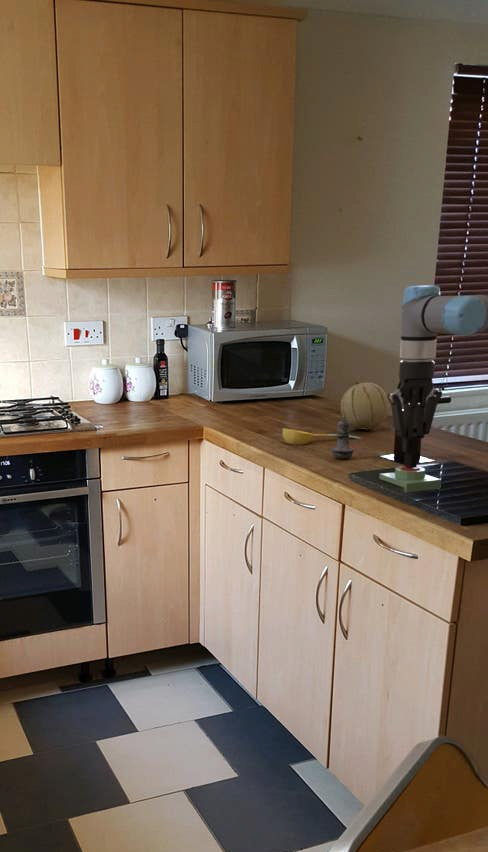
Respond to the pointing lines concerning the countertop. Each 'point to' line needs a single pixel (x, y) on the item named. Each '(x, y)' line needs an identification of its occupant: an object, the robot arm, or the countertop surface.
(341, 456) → the grey chess piece
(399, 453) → the bracket
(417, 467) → the button
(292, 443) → the ladle
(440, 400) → the lever
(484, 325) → the robot arm
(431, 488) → the control block
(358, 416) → the cantaloupe
